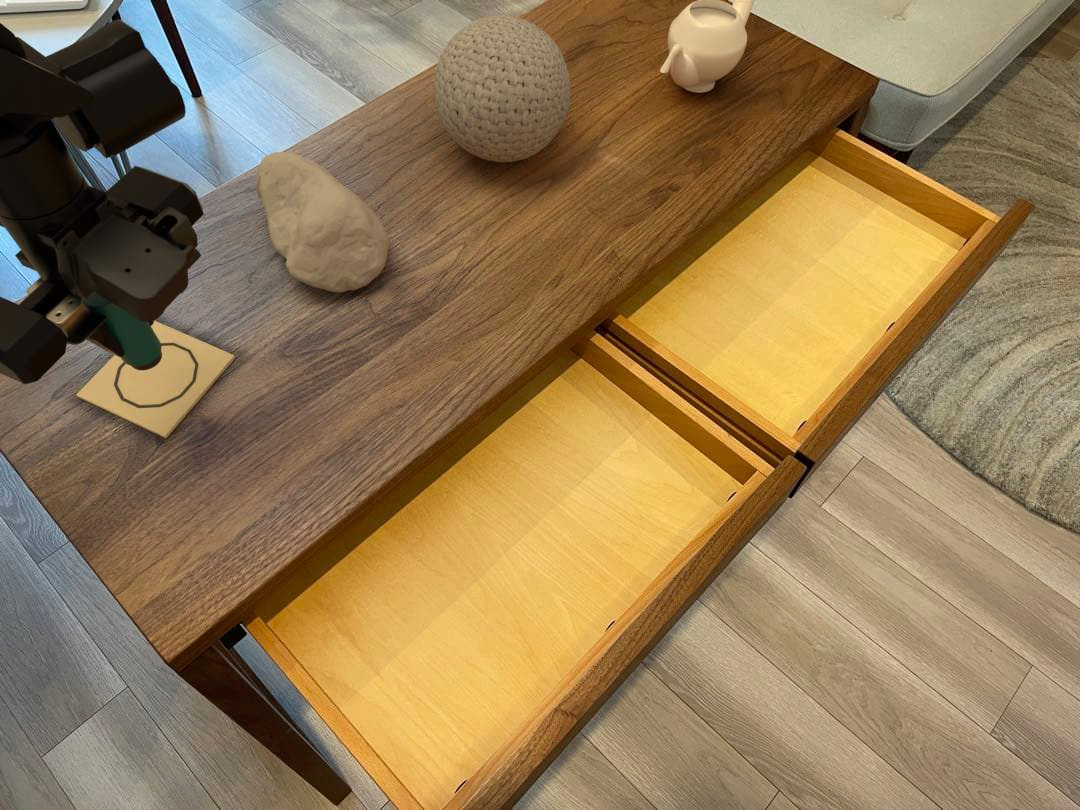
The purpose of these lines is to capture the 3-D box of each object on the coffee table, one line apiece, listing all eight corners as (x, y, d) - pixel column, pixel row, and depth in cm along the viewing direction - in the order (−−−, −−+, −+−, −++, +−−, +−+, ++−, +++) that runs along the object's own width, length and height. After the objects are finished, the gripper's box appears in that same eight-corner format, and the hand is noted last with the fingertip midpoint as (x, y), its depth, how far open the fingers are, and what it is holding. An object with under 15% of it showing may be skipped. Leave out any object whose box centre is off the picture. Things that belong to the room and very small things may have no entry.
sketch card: (77, 397, 71) (75, 394, 71) (151, 320, 76) (149, 317, 76) (166, 438, 69) (164, 436, 69) (235, 357, 74) (234, 354, 74)
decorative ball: (579, 120, 95) (590, 0, 83) (548, 202, 87) (554, 83, 75) (462, 96, 97) (455, -25, 84) (421, 175, 89) (406, 54, 76)
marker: (117, 365, 65) (69, 297, 58) (143, 337, 66) (100, 268, 59) (149, 379, 64) (104, 312, 57) (174, 351, 66) (134, 282, 59)
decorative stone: (418, 249, 79) (351, 206, 70) (357, 323, 81) (284, 289, 72) (340, 164, 87) (272, 116, 79) (286, 232, 89) (214, 192, 81)
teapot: (621, 101, 98) (631, 31, 90) (708, 33, 106) (724, -36, 99) (684, 135, 95) (701, 66, 87) (768, 62, 103) (790, -7, 96)
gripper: (26, 335, 44) (136, 469, 57) (230, 141, 53) (284, 293, 66) (-123, 270, 46) (16, 413, 59) (99, 94, 55) (176, 251, 68)
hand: (133, 339), depth 63 cm, fingers closed on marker, 3 cm apart
